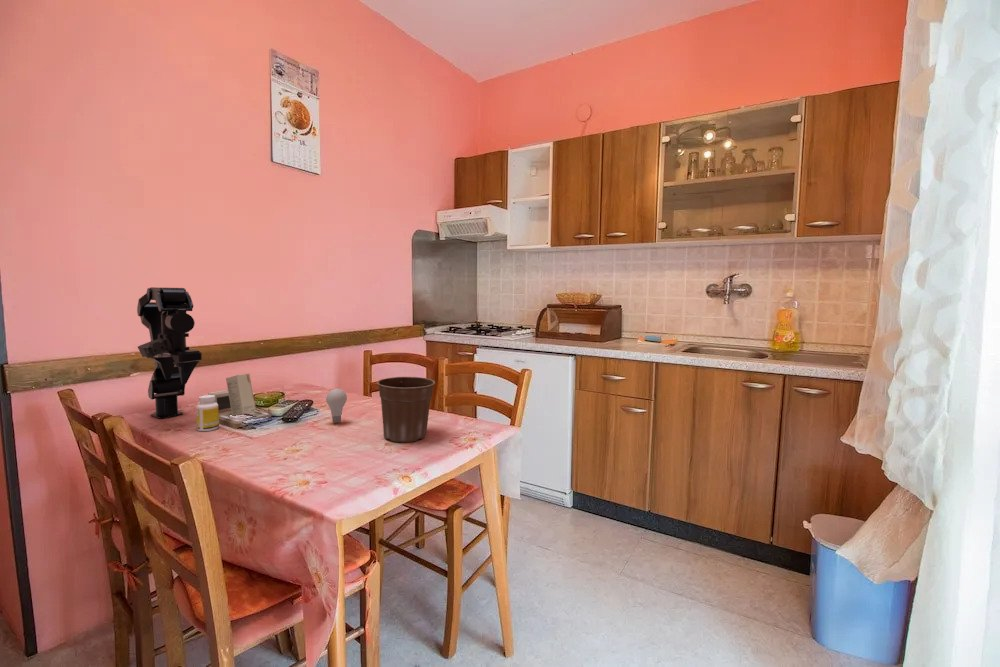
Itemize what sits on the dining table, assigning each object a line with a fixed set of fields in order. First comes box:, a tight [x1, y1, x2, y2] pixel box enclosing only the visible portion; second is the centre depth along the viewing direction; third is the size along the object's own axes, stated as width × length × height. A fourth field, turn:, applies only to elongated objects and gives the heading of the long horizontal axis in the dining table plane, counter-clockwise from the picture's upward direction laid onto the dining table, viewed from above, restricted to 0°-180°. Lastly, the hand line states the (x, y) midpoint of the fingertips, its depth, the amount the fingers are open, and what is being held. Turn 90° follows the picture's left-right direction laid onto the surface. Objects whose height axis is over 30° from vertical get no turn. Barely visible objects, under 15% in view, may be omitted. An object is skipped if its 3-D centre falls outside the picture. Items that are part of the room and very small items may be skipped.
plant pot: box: [376, 376, 436, 444], centre depth 129 cm, size 16×16×16 cm
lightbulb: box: [325, 388, 348, 424], centre depth 139 cm, size 6×6×11 cm
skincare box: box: [225, 373, 257, 416], centre depth 139 cm, size 6×4×12 cm
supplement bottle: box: [196, 394, 220, 432], centre depth 131 cm, size 5×5×10 cm
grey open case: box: [207, 389, 272, 429], centre depth 142 cm, size 23×11×8 cm, turn 60°
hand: (175, 381), depth 134 cm, fingers open, 9 cm apart
